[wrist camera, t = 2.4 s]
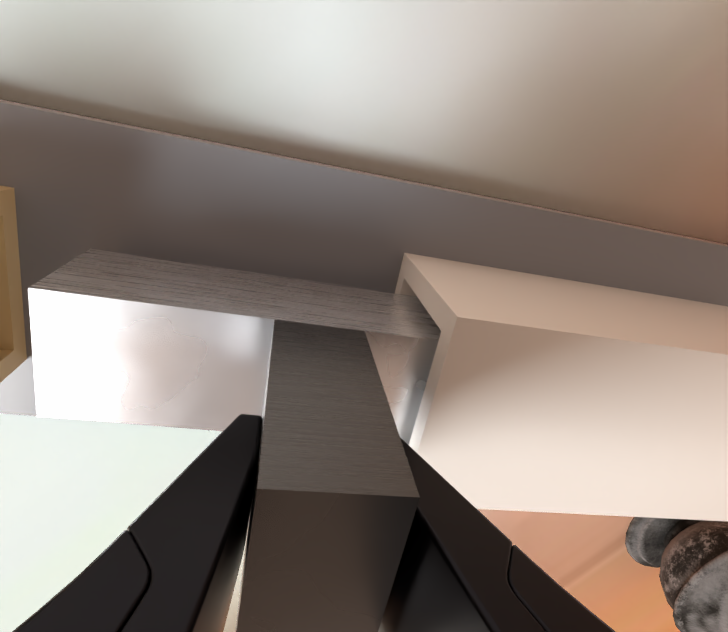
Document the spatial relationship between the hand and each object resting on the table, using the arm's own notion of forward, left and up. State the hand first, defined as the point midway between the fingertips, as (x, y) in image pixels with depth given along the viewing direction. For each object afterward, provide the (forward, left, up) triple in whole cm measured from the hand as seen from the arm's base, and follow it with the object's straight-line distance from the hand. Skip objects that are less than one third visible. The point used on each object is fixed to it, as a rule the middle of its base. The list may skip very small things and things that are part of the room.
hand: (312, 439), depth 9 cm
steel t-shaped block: (0, -3, -5) cm, 6 cm away
